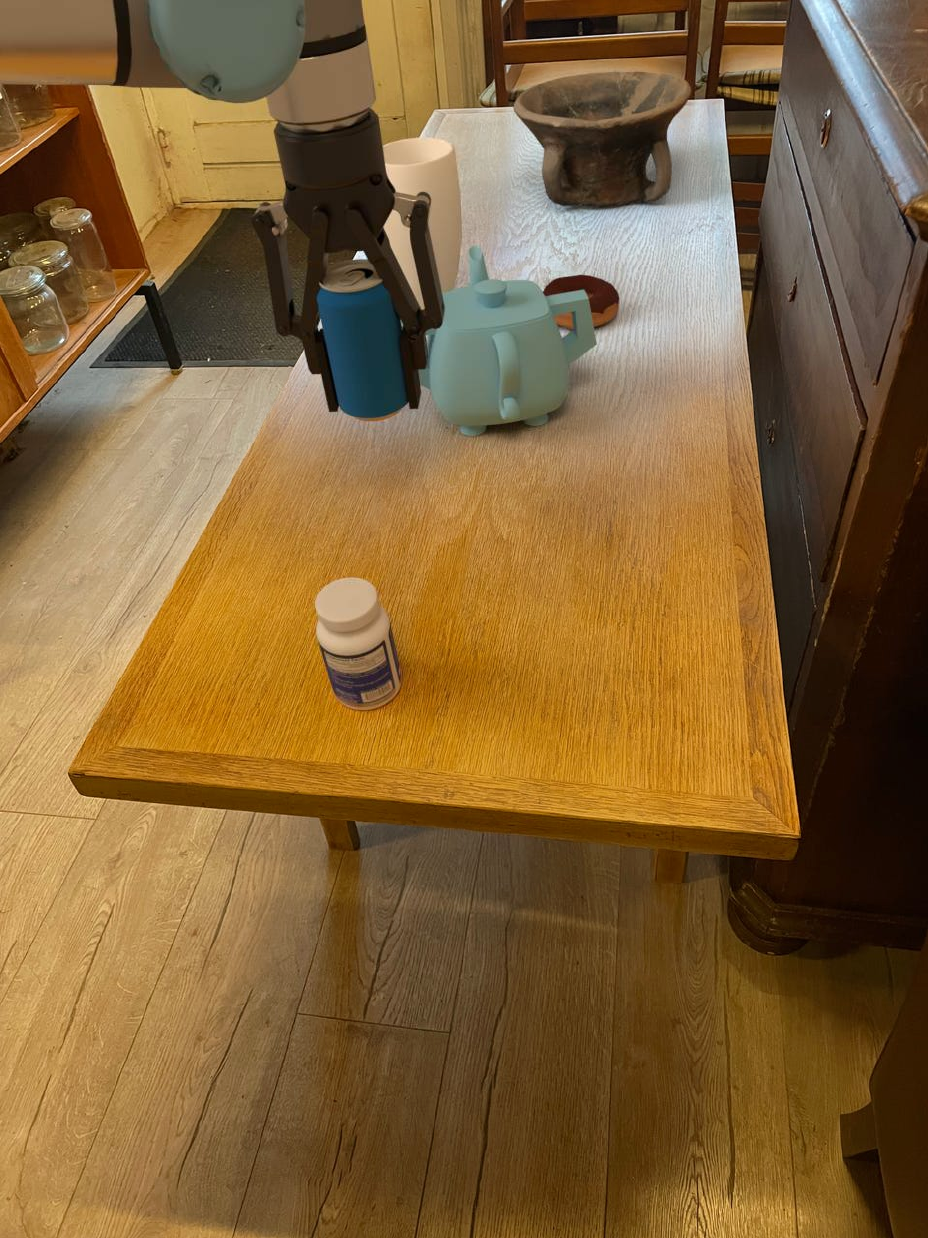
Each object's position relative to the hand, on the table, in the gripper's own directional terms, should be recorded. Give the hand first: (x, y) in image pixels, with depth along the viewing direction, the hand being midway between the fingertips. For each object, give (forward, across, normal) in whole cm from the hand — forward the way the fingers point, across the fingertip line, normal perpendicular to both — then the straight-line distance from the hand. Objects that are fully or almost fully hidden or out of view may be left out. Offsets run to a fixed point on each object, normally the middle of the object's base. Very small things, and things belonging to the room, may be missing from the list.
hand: (375, 401), depth 79 cm
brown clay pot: (+13, -23, -83) cm, 87 cm away
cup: (+13, 0, -39) cm, 41 cm away
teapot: (+13, -9, -21) cm, 27 cm away
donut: (+13, -19, -41) cm, 47 cm away
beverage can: (+1, 0, 0) cm, 1 cm away
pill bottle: (+13, 0, +22) cm, 26 cm away
